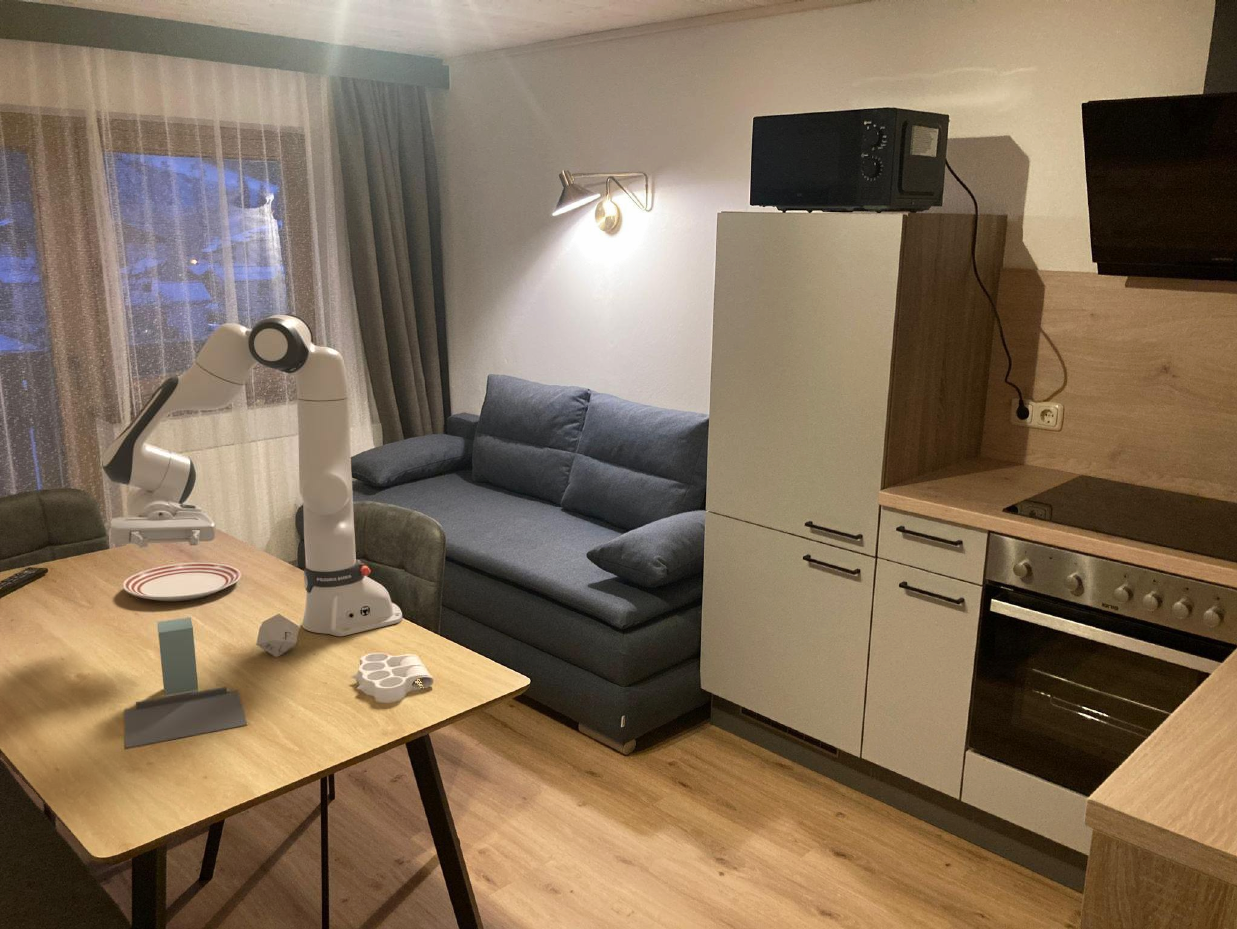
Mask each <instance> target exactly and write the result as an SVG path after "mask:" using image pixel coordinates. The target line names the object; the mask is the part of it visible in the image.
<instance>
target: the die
mask: <svg viewBox="0 0 1237 929" xmlns="http://www.w3.org/2000/svg"><path fill="white" fill-rule="evenodd" d="M298 635H299V625H298V624H297V623H294V622H293V621H291V619H288V618H286V617H285V616H284V615H281V614H280V613H277V614H275V615H273V616H271V617H269V618H268V619H265V620H264V621H262V622H261V625H260V626H259V629H258V634H257V639H256V643H255V645H256V646H257V647H260V648H261V649H263V650H264V651H265V652H268V653H269V654H270V655H271V656H273V657H275V658H278V657H280V656H282V655H284V654H285V653H287V652H289V651H290V650H293V648H294V647H295V646H296V643H297V640H298Z"/></svg>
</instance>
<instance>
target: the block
mask: <svg viewBox="0 0 1237 929" xmlns="http://www.w3.org/2000/svg"><path fill="white" fill-rule="evenodd" d="M193 626H194V625H193V622H192V617H191V616H190V617H183V618H175V619H169V620H164V621H163V620H162V621H157V634H158V643H159V644H158V645H159V653H160V662H161V673H162V674H161V675H162V684H163V694H164V697H169V696H175V695H181V694H186V693H192V692H198V691H199V683H198V674H197V673H198V672H197V671H198V670H197V669H198V668H197V660H196V659H197V658H196V648H195V646H196V645H195V637H194V636H195V635H194V627H193Z"/></svg>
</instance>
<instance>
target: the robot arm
mask: <svg viewBox="0 0 1237 929" xmlns="http://www.w3.org/2000/svg"><path fill="white" fill-rule="evenodd" d="M313 335H314V334H313V331H312V329H311V327H310V326H309V324H308V323H307V322H306V321H305V320H304V319H302V318H301V317H299V316H297V315H294V314H288V313H287V314H275V315H271V316H269V317H267V318H264V319H262V320H260V321H258V322H257V323H256V324H255V325H254V326H253V328H252V329H251V328H249V327H246V326H244V325H241V324H239V323H234V322H232V323H231V322H228V323H227V322H226V323H222V324H221V325H219V326H218V327H217V328H216V329H215V330H214V331H213V333H212V334H211V335H210V336H209V338H208V339H207V341H206V342H205V344H204V345H203V346H202V348H201V349H200V351H199V352H198V355H197V357H196V358H195V361H194V362H193V363H192V365H191V366H190V368H188V369H187V370H186V371H184V372H183V373H182V374H180V375H179V376H173V377H169V378H167V379H166V380H164V381H163V383H162V384H160V385H159V386H158V388H157V389H156V390H155V391H154V392H153V394H152V395H151V396H149V398H148V400H147V401H146V402H145V404H144V405H143V406H142V408H141V409H140V410H139V411H138V412H137V414H136V415H135V416H134V418H133V419H132V420H131V422H130V423H129V424H128V425H127V426H126V428H125V429H124V431H122V433H120V435H119V436H117V437H116V438H115V440H114V441H113V442H112V443H111V445H110V446H109V447H108V448H107V449H106V450H105V453H104V455H103V459H102V463H101V466H102V469H103V471H104V473H105V475H106V476H107V478H108V479H109V480H110V481H111V482H113V483H117V484H122V485H127V486H133V487H132V488H131V489H130V491H129V492H128V494H127V499H126V509H127V510H126V511H127V513H128V516H118V517H117V516H116V517H113V518H112V519H110V520H109V521H106V522H104V524H103V526H104V527H105V530H107V531H109V534H108V536H109V537H108V539H109V541H110V542H109V543H111V544H113V545H131V544H134V545H136V546H138V547H139V548H148V547H149V544H155V543H156V544H161V543H164V544H165V543H187V542H188V545H189V546H198V544H199V542H212V541H214V540H215V538H216V524H215V522H214V521H213V519H212V518H211V517H210V516H209V515H208V514H207V513H204V512H202V510H203V509H202V507H201V506H199V505H191V504H184V503H185V502H186V501H187V500H188V498H189V497H190V496H191V494H192V492H193V489H194V487H195V483H196V479H197V472H196V468H195V465H194V463H193V461H192V459H191V458H190V457H188V456H185V455H183V454H180V453H177V452H175V451H171V450H169V449H168V450H167V449H164V448H161V447H159V446H155V445H152V444H149V443H147V440H148V438H149V437H150V436H151V435H152V433H153V432H154V431H155V429H156V428H157V427H158V426H159V425H160V423H162V421H163V419H165V417H166V416H168V415H169V414H172V413H175V412H180V411H215V410H221V409H223V408H225V407H228V406H230V405H231V404H233V402H234V401H236V399H237V397H238V396H239V395H240V393H241V391H242V390H243V388H244V386H245V384H246V382H247V380H248V378H249V376H250V374H251V373H252V371H253V369H255V367H256V366H257V365H258V364H260V365H262V366H263V367H264V366H265V367H266V368H269V369H272V370H277V371H279V372H283V373H286V374H293V376H294V378H295V383H296V385H295V386H296V402H297V403H296V404H297V406H296V407H297V422H298V423H297V425H298V427H297V430H298V474H299V475H298V477H299V478H298V479H299V481H298V482H299V483H298V484H299V485H298V486H299V495H300V497H301V499H302V501H303V503H302V504H303V506H302V509H303V510H302V511H303V539H304V554H305V555H304V556H305V558H304V559H305V565H304V566H303V567H304V568H303V570H304V572H303V580H304V581H303V582H304V588H305V591H306V595H305V596H306V599H305V607H304V608H305V609H304V615H303V619H302V623H301V626H302V628H303V629H305V630H306V631H309V632H311V633H312V632H313V633H315V634H316V633H317V634H329V635H333V636H335V637H344V636H349V635H352V634H356V633H358V634H359V633H363V632H365V631H369V630H373V629H374V630H375V629H379V628H382V627H386V626H390V625H394V624H398V623H400V622H401V621H402V619H403V613H402V610H401V608H400V607H399V606H398V605H397V604H396V603H394V602H392V598H391V596H390V593H389V592H388V590H387V589H386V588H385V587H384V586H383V585H382V584H381V583H379V582H377V581H376V580H374V579H372V578H370V577H368V576H369V575H370V574H371V572H372V571H371V569H370V568H369V566H367V565H366V564H365V563H363V562H362V561H360V560H359V559H356V558H357V557H356V540H355V539H356V536H355V519H354V518H355V516H354V497H353V495H354V494H353V475H352V455H351V454H352V453H351V451H352V450H351V426H350V425H351V422H350V421H351V418H350V417H351V416H350V394H349V393H350V390H349V382H348V374H347V370H346V366H345V362H344V357H343V355H342V354H341V353H340V352H339V351H338V350H336V349H334V348H332V347H328V346H319V345H315V344H314V336H313Z"/></svg>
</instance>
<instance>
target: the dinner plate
mask: <svg viewBox="0 0 1237 929" xmlns="http://www.w3.org/2000/svg"><path fill="white" fill-rule="evenodd" d="M241 578H242V573H241V571H240V570H239V569H238V568H236V567H234V566H231V565H227V564H222V563H215V562H214V563H213V562H185V563H184V562H183V563H175V564H174V563H173V564H168V565H163V566H159V567H153V568H150V569H146V570H143V571H140V572H137V573H135V574H133V575H131V576H129V577H127V578H126V579H125V580H124V582H123V583H122V588H123V590H124V591H125V592H126V593H127V594H130V595H133V596H135V597H138V598H142V599H147V600H154V601H160V602H180V601H181V602H182V601H190V600H197V599H199V598H201V599H202V598H204V597H207V596H210V595H212V594H215V593H218V592H220V591H222V590H224V589H225V590H226V589H227V588H228V587H230V586H233V585H234V584H236V583H238V581H239V580H240V579H241Z"/></svg>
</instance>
